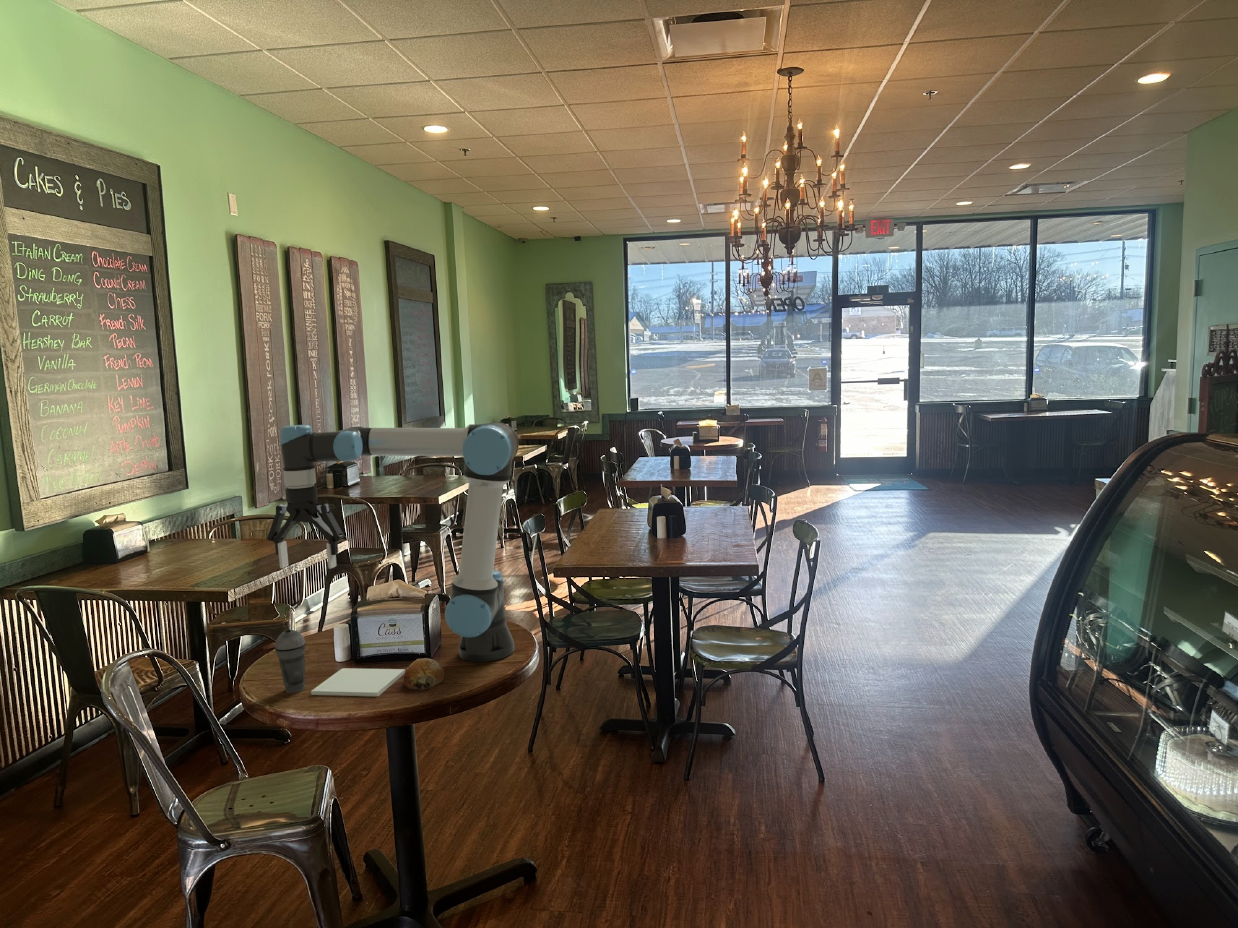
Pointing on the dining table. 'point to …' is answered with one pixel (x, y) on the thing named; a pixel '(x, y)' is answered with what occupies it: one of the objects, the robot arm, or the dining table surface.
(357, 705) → the dining table surface
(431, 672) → the bread roll
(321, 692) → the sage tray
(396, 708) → the dining table surface
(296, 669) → the beverage cup
